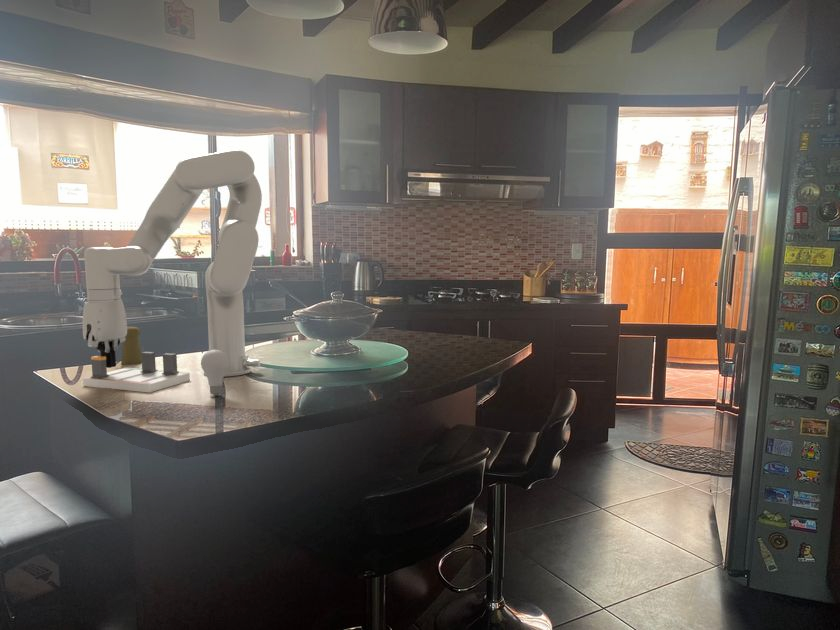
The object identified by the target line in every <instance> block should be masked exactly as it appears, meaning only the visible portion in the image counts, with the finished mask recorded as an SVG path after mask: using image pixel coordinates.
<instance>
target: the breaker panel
mask: <svg viewBox="0 0 840 630" xmlns="http://www.w3.org/2000/svg"><path fill="white" fill-rule="evenodd" d="M156 370H157V371H155V372H151V373H141V372H140V371H142V368H139V367H138V368H137V367H136V368H135V367H124V368H119V369H115V370H111V371H107V375H109V376H106V377H102V378H90V377H91V376H92V375H91V376H87V377H82V385H83V387H89V386H90V387H92V388H101V389H110V388H111V389H110V390H122V391H132V392H142V393H152V392H157V391H159V390H162V389H166V388H169V387H172V386H176V385H178V384H183V383H186V382H188V381H190V380H191V379H190V378H191V377H190V376H191V375H190V372H184V371H179V373H175V374H172V375H165V374H162V373H164V371H163V370H161V369H160V370H159V369H156Z"/></svg>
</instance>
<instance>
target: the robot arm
mask: <svg viewBox="0 0 840 630" xmlns="http://www.w3.org/2000/svg"><path fill="white" fill-rule="evenodd" d="M255 167H256V166H255V161H254V160H253V158H252V156H251V155H250V154H249V153H247V152H246V151H244V150H241V149H230V150H224V151H219V152H214V153H208V154H201V155H197V156H192V157H186V158H183V159H182V160H180V161H179V162H178V163H177V165H176V166H175V169H174V170H173V172H172V173H171V175H170V176H169V178H167V181H166V182H165V183H164V185H163V187H162V188H161V189H160V191H159V193H158V194H157V196H156V197H155V198H154V200H153V201H152V202H151V204H150V205H149V207H148V209H147V210H146V213H145V216H144V218H143V220H142V222H141V224H140V226H139V227H138V229H136V232H135V233H134V235H133V236H132V238H131V239H130V241H129V242H128V244H127V245H126V246H125V247H108V246H107V247H106V246H93V247H87V248H86V249H85V250H84V252H83V254H84V269H85V285H86V297H87V298H86V299H87V302H84V305H83V311H82V313H83V314H82V337H83V340H84V341H86V342H87V346H88V347H89V348H96V350H97V352H98V353H100V356H105V357H106V368H107V369H108V368H115V367H117V359H116V357H117V356H116V352H117V350H118V347H119V345H120V344H121V343H122V344H123V342H124V341H125V340H126V338H125V336H126V335H127V327H128V323H127V322H128V321H127V314H126V309H125V305H124V302H123V301H124V300H122V298H121V297H122V295H123V291H122V290H121V281H120V279H121V278H120V275H123V276H125V275H126V276H133V277H134V276H141V275H142V276H143V274H146V273H147V272H148V271H149V269H150V267H151V265H152V264H153V262H154V260H155V259H156V257H157V256H158V255H159V253H160V251H161V250H162V248H163V246H164V245H165V244H166V242H167V241H168V240H169V238H170V237H171V236H172V235H173V234H174V233H175V232H176V231H177V230H178V229H179V227H180V226H181V224H182V223H183V221H184V220H185V219H186V217H187V216H188V214H189V213H190V211H191V210H192V208H193V207H194V205H195V204H196V202H197V201H198V199H199V197H200V196H201V194H202V193H203V191H205V190H210V189H215V188H221V187H227V190H228V192H229V199H228V202H227V206H226V212H225V215H224V218H223V221H222V223H221V227H220V229H219V231H218V235H217V236H218V237H217V239H218V240H217V241H218V246H217V250H216V253H215V257H214V260H213V261H212V262H211V263H210V264H209V266H207V269H206V271H205V277H204V278H205V279H204V281H205V293H206V294H205V295H206V304H207V305H206V306H207V329H208V330H207V332H208V351H210V350H220V351H222V352H224V353H225V354H226V356H227V357H228V362H229V363H228V367H227V369H226V371H225V373H224V376H223V378H224V377H226V378H228V377H236V376H237V377H238V376H242V375H247V374H249V373H251V372H252V367H253V368H255V367H257V368H258V367H259V368H260V367H261V360H260V359H255V358H254V359H250V358H249V354H246V341H245V339H246V337H245V311H244V310H245V309H244V308H245V307H244V295H243V290H244V289H245V287H246V286H247V283H248V280H249V277H250V275H251V271H252V268H253V264H254V261H255V258H256V255H257V252H258V247H259V234H258V231H257V228H256V226H257V224H258V220H259V217H260V216H259V215H260V212H261V211H260V210H261V207H262V201H263V194H262V189H261V186H260V183H259V181H258V178H257V177H256V175H255V173H254V172H255ZM203 374H204V375H205V376H206V374H205V372H204V371H203Z"/></svg>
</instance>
